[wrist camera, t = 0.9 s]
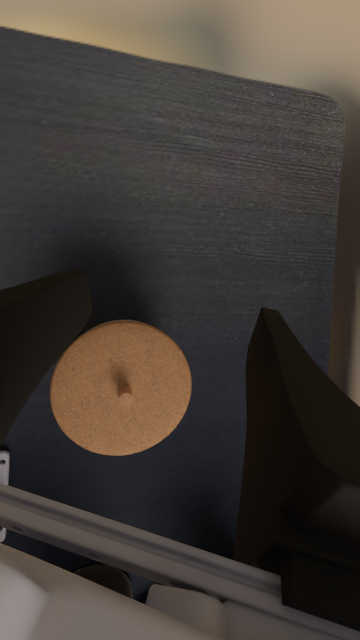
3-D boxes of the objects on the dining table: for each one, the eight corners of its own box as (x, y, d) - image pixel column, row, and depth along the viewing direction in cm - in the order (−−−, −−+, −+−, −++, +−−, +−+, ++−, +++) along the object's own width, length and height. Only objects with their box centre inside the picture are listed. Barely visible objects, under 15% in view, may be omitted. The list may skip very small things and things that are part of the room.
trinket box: (160, 302, 28) (182, 309, 19) (180, 395, 30) (210, 442, 21) (54, 326, 26) (22, 347, 17) (83, 425, 28) (68, 492, 19)
